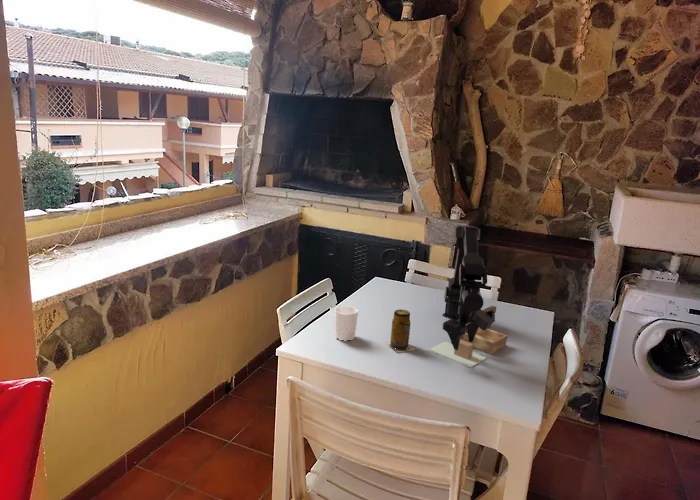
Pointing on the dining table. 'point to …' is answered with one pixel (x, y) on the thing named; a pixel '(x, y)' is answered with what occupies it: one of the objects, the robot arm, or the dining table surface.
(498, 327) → the dining table surface
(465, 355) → the lid
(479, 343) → the brown shallow open box
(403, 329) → the yellow can
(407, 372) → the dining table surface
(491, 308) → the brown wooden bar
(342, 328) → the white cup
